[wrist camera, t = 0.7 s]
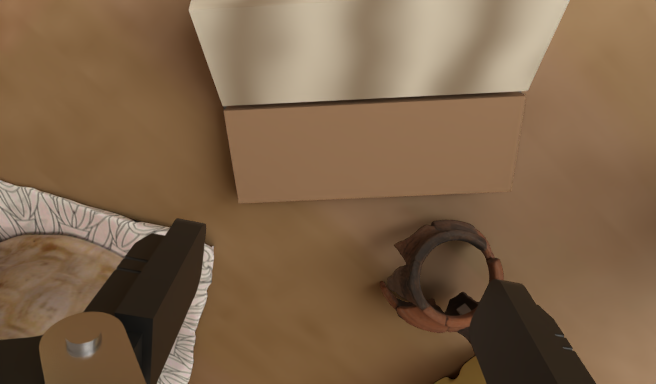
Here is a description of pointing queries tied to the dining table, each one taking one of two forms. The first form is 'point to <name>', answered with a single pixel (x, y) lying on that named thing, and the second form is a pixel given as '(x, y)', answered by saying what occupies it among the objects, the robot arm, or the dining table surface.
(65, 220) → the cookie jar
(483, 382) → the cheese
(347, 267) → the dining table surface
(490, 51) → the plank
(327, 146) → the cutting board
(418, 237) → the pottery mug
